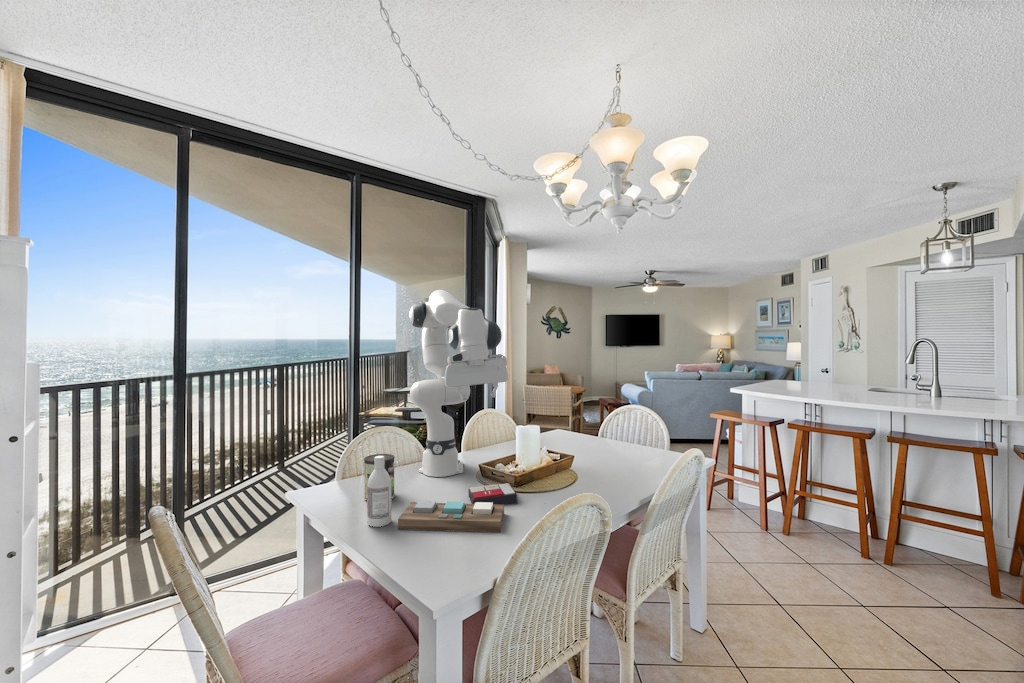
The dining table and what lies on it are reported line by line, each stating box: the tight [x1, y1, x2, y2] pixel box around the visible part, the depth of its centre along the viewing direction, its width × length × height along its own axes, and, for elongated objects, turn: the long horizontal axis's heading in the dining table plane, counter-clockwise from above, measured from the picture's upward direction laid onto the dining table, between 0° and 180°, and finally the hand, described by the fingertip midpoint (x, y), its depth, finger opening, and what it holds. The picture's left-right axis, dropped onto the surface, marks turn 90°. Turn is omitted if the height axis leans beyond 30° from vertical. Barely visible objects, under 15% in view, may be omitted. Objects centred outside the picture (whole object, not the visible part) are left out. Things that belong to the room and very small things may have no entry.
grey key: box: [414, 500, 437, 513], centre depth 134 cm, size 6×6×2 cm
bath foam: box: [366, 456, 392, 528], centre depth 131 cm, size 7×7×20 cm
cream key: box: [473, 502, 493, 515], centre depth 133 cm, size 6×6×2 cm
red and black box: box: [467, 482, 518, 506], centre depth 150 cm, size 11×4×15 cm
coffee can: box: [363, 453, 395, 501], centre depth 152 cm, size 10×10×14 cm
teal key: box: [443, 501, 466, 514], centre depth 133 cm, size 6×6×2 cm
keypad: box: [397, 501, 505, 533], centre depth 132 cm, size 13×30×3 cm, turn 86°
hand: (478, 399), depth 138 cm, fingers open, 8 cm apart
